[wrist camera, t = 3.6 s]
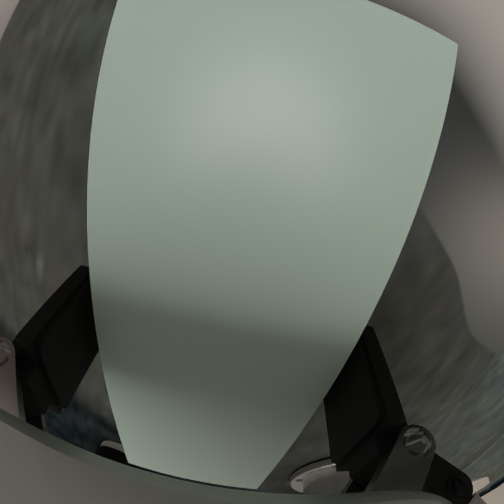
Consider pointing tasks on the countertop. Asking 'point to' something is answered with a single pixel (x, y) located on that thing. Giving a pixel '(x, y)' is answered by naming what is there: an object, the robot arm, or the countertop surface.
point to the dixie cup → (113, 452)
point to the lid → (249, 213)
